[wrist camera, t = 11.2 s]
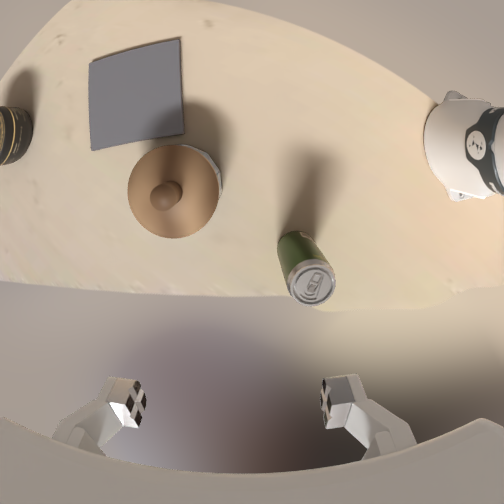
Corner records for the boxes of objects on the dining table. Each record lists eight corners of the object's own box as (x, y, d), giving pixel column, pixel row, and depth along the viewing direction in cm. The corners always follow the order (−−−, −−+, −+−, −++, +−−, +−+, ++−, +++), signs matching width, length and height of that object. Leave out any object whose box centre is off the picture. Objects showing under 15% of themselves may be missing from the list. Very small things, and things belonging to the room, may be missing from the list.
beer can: (284, 224, 39) (300, 255, 28) (319, 236, 40) (346, 271, 29) (270, 258, 41) (280, 300, 30) (304, 269, 42) (324, 313, 30)
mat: (180, 41, 29) (178, 39, 29) (184, 133, 34) (183, 133, 34) (91, 64, 29) (88, 63, 29) (94, 150, 34) (91, 151, 34)
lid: (215, 139, 30) (210, 138, 26) (223, 231, 34) (220, 244, 30) (126, 153, 30) (109, 154, 26) (139, 238, 34) (125, 252, 30)
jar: (12, 101, 30) (-16, 100, 22) (43, 115, 32) (13, 114, 24) (-4, 152, 33) (-31, 157, 25) (25, 171, 35) (-5, 178, 27)
